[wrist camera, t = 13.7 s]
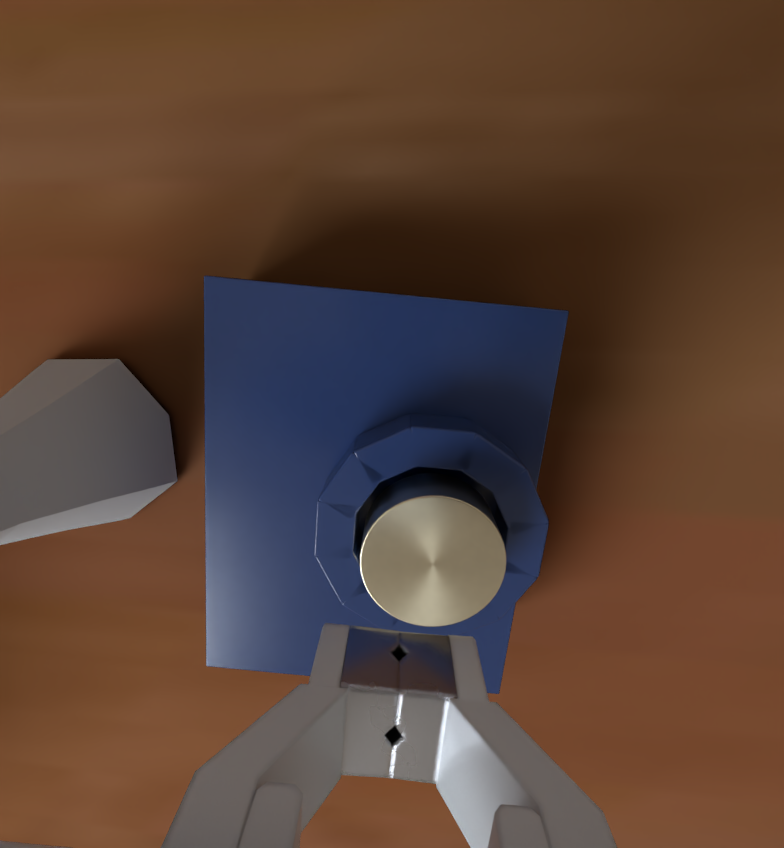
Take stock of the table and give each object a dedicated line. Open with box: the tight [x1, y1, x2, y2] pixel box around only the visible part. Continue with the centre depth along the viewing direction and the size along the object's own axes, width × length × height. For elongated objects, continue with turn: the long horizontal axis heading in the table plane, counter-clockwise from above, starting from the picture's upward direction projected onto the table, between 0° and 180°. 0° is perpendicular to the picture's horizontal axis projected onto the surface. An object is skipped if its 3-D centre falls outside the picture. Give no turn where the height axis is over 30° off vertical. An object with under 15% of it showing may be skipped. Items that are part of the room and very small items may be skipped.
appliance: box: [204, 276, 569, 694], centre depth 17 cm, size 14×11×6 cm
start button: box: [360, 473, 506, 627], centre depth 14 cm, size 4×4×2 cm
